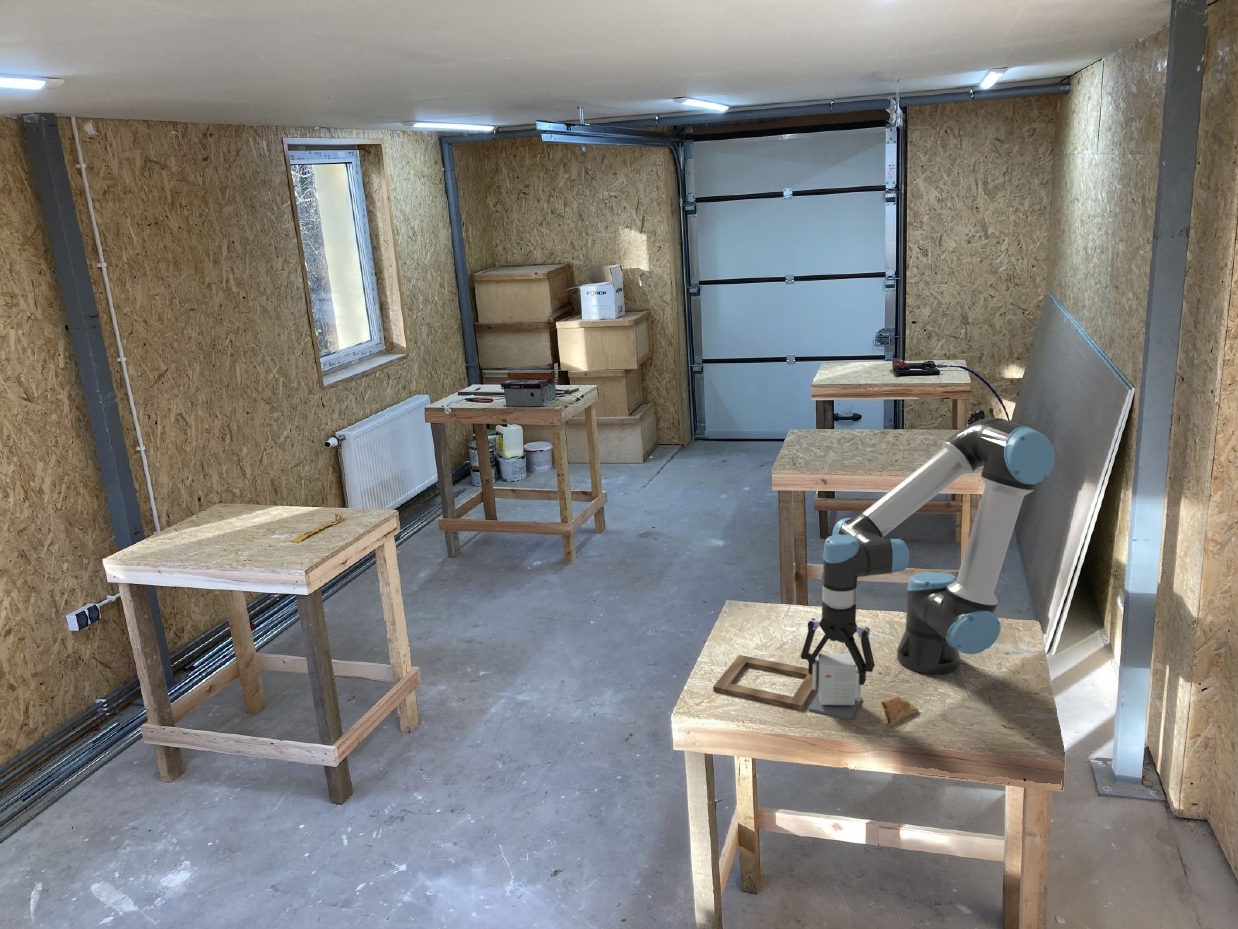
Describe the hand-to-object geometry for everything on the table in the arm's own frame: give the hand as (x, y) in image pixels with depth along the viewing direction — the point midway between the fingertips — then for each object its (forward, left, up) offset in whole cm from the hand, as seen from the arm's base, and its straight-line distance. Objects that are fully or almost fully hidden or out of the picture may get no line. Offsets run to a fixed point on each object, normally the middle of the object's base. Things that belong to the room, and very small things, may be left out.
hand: (836, 691), depth 220 cm
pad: (0, 0, -4) cm, 4 cm away
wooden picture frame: (+18, -3, -4) cm, 18 cm away
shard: (-15, -2, -4) cm, 15 cm away
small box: (0, 0, -2) cm, 2 cm away
